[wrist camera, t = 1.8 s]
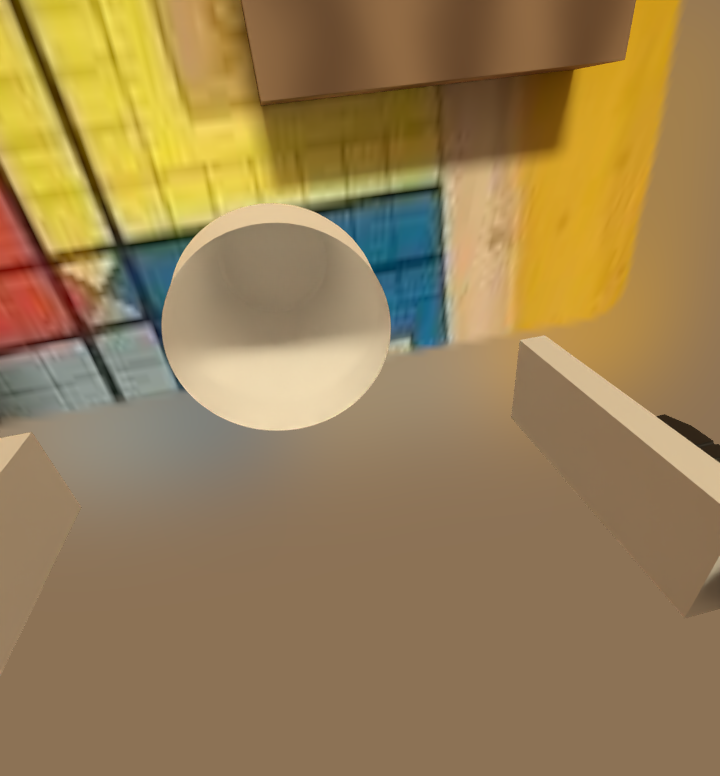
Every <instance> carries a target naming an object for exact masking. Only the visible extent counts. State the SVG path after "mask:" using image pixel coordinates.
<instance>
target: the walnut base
mask: <svg viewBox="0 0 720 776" xmlns="http://www.w3.org/2000/svg"><path fill="white" fill-rule="evenodd" d="M635 2H636V0H241V4H242V9H243V15H244V20H245V25H246V30H247V36H248V41H249V46H250V51H251V57H252V62H253V67H254V72H255V78H256V83H257V88H258V93H259V99H260V104H261V106H262V105H271V104H280V103H288V102H297V101H305V100H314V99H323V98H331V97H340V96H349V95H357V94H366V93H375V92H383V91H392V90H401V89H409V88H418V87H427V86H435V85H444V84H453V83H461V82H470V81H478V80H487V79H496V78H504V77H513V76H522V75H530V74H539V73H548V72H556V71H565V70H574V69H579V68H584V67H590V66H595V65H600V64H605V63H610V62H616V61H621V60H625V56H626V51H627V45H628V40H629V35H630V29H631V24H632V18H633V13H634V8H635Z"/></svg>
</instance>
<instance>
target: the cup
mask: <svg viewBox="0 0 720 776" xmlns="http://www.w3.org/2000/svg"><path fill="white" fill-rule="evenodd" d="M390 332H391V323H390V313H389V307H388V304H387V300H386V297H385V294H384V291H383V289H382V287H381V285H380V283H379V281H378V279H377V277H376V276H375V274H374V272H373V270H372V268H371V266H370V264H369V262H368V260H367V258H366V256H365V255H364V253H363V252H362V250H361V249H360V247H359V246H358V245H357V244H356V242H355V241H354V240H353V239H352V238H351V237H350V236H349V235H348V234H347V233H346V232H345V231H344V230H342V229H341V228H340V227H339V226H337V225H336V224H334V223H333V222H331V221H330V220H328V219H327V218H325V217H323V216H321V215H319V214H317V213H315V212H313V211H310V210H308V209H304V208H301V207H297V206H293V205H287V204H277V203H265V204H256V205H250V206H246V207H242V208H239V209H236V210H233V211H230V212H228V213H226V214H224V215H222V216H220V217H219V218H217V219H216V220H214V221H212V222H211V223H210V224H208V225H207V226H206V227H205V228H204V229H202V230H201V231H200V232H199V233H198V234H197V235H196V236H195V237H194V238H193V239H192V240H191V242H190V243H189V244H188V246H187V247H186V248H185V250H184V252H183V253H182V255H181V257H180V259H179V261H178V263H177V265H176V268H175V271H174V274H173V278H172V282H171V285H170V288H169V290H168V293H167V296H166V299H165V303H164V308H163V313H162V338H163V344H164V348H165V352H166V356H167V358H168V361H169V363H170V366H171V368H172V370H173V372H174V374H175V375H176V377H177V378H178V380H179V382H180V383H181V384H182V386H183V387H184V388H185V389H186V391H187V392H188V393H189V394H190V395H191V396H192V397H193V398H194V399H195V400H196V401H198V402H199V403H200V404H201V405H202V406H204V407H205V408H207V409H208V410H209V411H211V412H213V413H214V414H216V415H218V416H219V417H222V418H224V419H226V420H228V421H230V422H233V423H235V424H238V425H242V426H245V427H249V428H254V429H260V430H271V431H281V430H282V431H283V430H294V429H300V428H305V427H309V426H313V425H316V424H318V423H322V422H324V421H327V420H329V419H331V418H333V417H335V416H337V415H338V414H340V413H342V412H343V411H345V410H346V409H348V408H349V407H350V406H351V405H353V404H354V403H355V402H356V401H358V400H359V398H361V397H362V396H363V395H364V393H365V392H366V391H367V390H368V389H369V388H370V386H371V385H372V384H373V382H374V381H375V379H376V377H377V376H378V374H379V372H380V370H381V368H382V366H383V364H384V361H385V358H386V356H387V352H388V348H389V342H390Z"/></svg>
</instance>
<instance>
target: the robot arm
mask: <svg viewBox="0 0 720 776" xmlns="http://www.w3.org/2000/svg"><path fill="white" fill-rule="evenodd" d="M511 417H512V419H513V420H514V421H515V422H516V424H517V425H518V426H519V427H520V428H521V430H522V431H523V432H524V433H525V434H526V435H527V436H528V438H529V439H530V440H531V441H532V442H533V443H534V445H535V446H536V447H537V448H538V449H539V450H540V452H541V453H542V454H543V455H544V456H545V457H546V459H547V460H548V461H549V462H550V463H551V464H552V465H553V467H554V468H555V469H556V470H557V471H558V472H559V474H560V475H561V476H562V477H563V478H564V479H565V481H566V482H567V483H568V484H569V485H570V486H571V487H572V489H573V490H574V491H575V492H576V493H577V494H578V496H579V497H580V498H581V499H582V500H583V501H584V503H585V504H586V505H587V506H588V507H589V508H590V510H592V512H593V513H594V514H595V515H596V517H597V518H598V519H599V520H600V521H601V522H602V523H603V525H604V526H605V527H606V528H607V529H608V530H609V532H610V533H611V534H612V535H613V536H614V537H615V538H616V540H617V541H618V542H619V543H620V544H621V545H622V547H623V548H624V549H625V550H626V551H627V552H628V554H629V555H630V556H631V557H632V558H633V559H634V560H635V562H636V563H637V564H638V565H639V566H640V568H641V569H642V570H643V571H644V572H645V573H646V574H647V576H648V577H649V578H650V579H651V580H652V581H653V583H654V584H655V585H656V586H657V587H658V588H659V590H660V591H661V592H662V593H663V594H664V595H665V596H666V598H667V599H668V600H669V601H670V602H671V603H672V605H673V606H674V607H675V608H676V609H677V610H678V612H680V614H681V615H682V616H683V617H684V618H688V617H692V616H695V615H699V614H703V613H706V612H710V611H713V610H717V609H720V445H719V444H716V445H715V444H714V443H713V440H711V439H710V438H708V437H707V436H706V435H704V434H702V433H701V432H700V431H698V430H697V429H695V428H694V427H692V426H691V425H688V424H686V423H683V422H681V421H679V420H676V419H674V418H672V417H669V416H667V415H660V416H654V415H653V414H652V413H650V412H649V411H648V410H646V409H645V408H644V407H642V406H641V405H639V404H638V403H637V402H635V401H634V400H632V399H631V398H630V397H629V396H627V395H626V394H624V393H623V392H622V391H620V390H619V389H618V388H616V387H615V386H613V385H612V384H611V383H609V382H608V381H607V380H605V379H604V378H602V377H601V376H600V375H598V374H597V373H596V372H594V371H593V370H591V369H590V368H589V367H587V366H586V365H585V364H583V363H582V362H581V361H579V360H578V359H576V358H575V357H574V356H572V355H571V354H570V353H568V352H567V351H565V350H564V349H563V348H561V347H560V346H558V345H557V344H556V343H554V342H553V341H552V340H550V339H549V338H547V337H546V336H540V337H534V338H529V339H524V340H520V343H519V352H518V361H517V372H516V380H515V389H514V398H513V407H512V416H511ZM80 510H81V506H80V504H79V503H78V501H77V500H76V498H75V497H74V495H73V494H72V492H71V491H70V489H69V488H68V486H67V485H66V483H65V482H64V480H63V479H62V477H61V476H60V474H59V473H58V471H57V470H56V468H55V467H54V465H53V463H52V462H51V460H50V459H49V457H48V456H47V454H46V453H45V452H44V450H43V448H42V447H41V445H40V444H39V442H38V441H37V439H36V438H35V436H34V435H33V433H32V432H30V433H24V434H19V435H13V436H8V437H3V438H0V675H1V673H2V671H3V669H4V667H5V664H6V663H7V661H8V658H9V656H10V654H11V652H12V650H13V648H14V646H15V644H16V642H17V640H18V638H19V636H20V634H21V632H22V630H23V627H24V625H25V623H26V621H27V619H28V617H29V615H30V613H31V611H32V609H33V607H34V605H35V603H36V601H37V599H38V596H39V594H40V592H41V590H42V588H43V586H44V584H45V582H46V580H47V578H48V576H49V574H50V572H51V570H52V567H53V565H54V563H55V561H56V559H57V557H58V555H59V553H60V551H61V549H62V547H63V545H64V543H65V541H66V538H67V537H68V534H69V532H70V530H71V528H72V526H73V524H74V522H75V520H76V518H77V516H78V514H79V512H80Z"/></svg>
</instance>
